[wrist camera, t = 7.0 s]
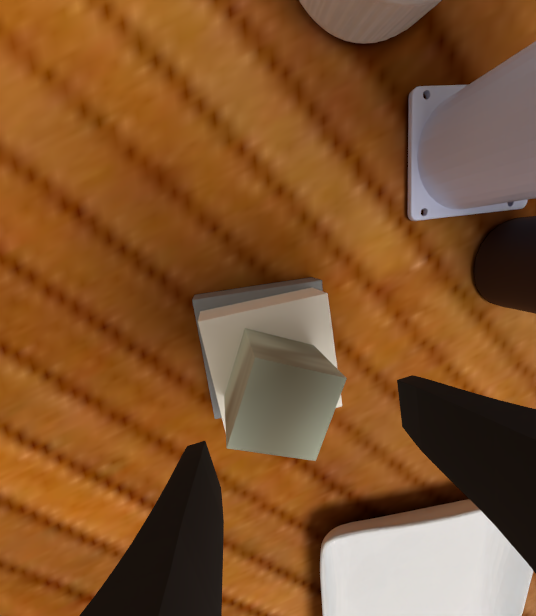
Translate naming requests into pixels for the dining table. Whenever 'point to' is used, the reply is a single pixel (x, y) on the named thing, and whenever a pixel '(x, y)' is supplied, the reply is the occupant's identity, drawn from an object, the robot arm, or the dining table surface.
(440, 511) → the salad plate
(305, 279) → the charcoal slab
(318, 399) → the sage cube
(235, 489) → the dining table surface
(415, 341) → the dining table surface
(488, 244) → the bottle
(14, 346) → the dining table surface
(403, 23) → the ramekin
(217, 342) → the cream slab
